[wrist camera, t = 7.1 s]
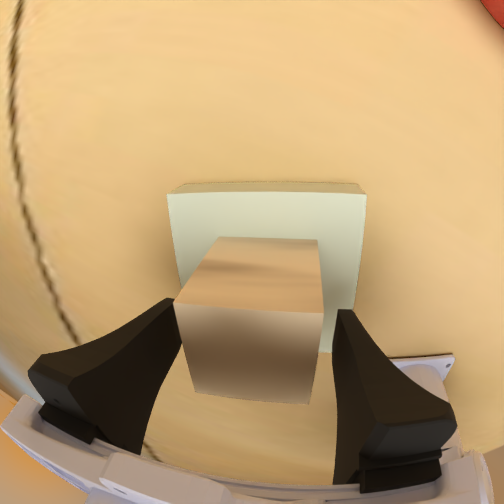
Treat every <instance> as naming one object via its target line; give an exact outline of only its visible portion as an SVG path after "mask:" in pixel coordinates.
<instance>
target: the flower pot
mask: <svg viewBox="0 0 504 504" xmlns="http://www.w3.org/2000/svg"><path fill="white" fill-rule="evenodd" d="M481 2H482V3H483V5H484V6H485V7H486V9H487V10H488V11H489V13H490V14H491V15H492V16H493V18H494V19H495V20H496V21H497V22H498V23H499V24H500V25H501V26H502V27H503V28H504V0H481Z"/></svg>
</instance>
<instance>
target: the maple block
mask: <svg viewBox="0 0 504 504" xmlns="http://www.w3.org/2000/svg"><path fill="white" fill-rule="evenodd" d="M173 305H174V310H175V314H176V319H177V323H178V327H179V332H180V336H181V340H182V344H183V348H184V352H185V356H186V360H187V363H188V367H189V371H190V375H191V378H192V382H193V385H194V389H195V392H197V393H203V394H209V395H215V396H222V397H229V398H236V399H245V400H254V401H264V402H276V403H290V404H309V402H310V397H311V392H312V386H313V381H314V375H315V370H316V364H317V358H318V351H319V345H320V338H321V332H322V324H323V317H324V306H323V294H322V282H321V271H320V261H319V252H318V243H317V240H311V239H284V238H253V237H218V238H217V240H216V241H215V242H214V244H213V245H212V247H211V248H210V250H209V251H208V252H207V254H206V255H205V257H204V258H203V259H202V261H201V262H200V264H199V265H198V267H197V268H196V270H195V271H194V272H193V274H192V275H191V277H190V278H189V280H188V281H187V283H186V284H185V286H184V287H183V288H182V290H181V291H180V293H179V294H178V296H177V297H176V299H175V300H174V302H173Z"/></svg>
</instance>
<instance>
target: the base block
mask: <svg viewBox="0 0 504 504" xmlns="http://www.w3.org/2000/svg"><path fill="white" fill-rule="evenodd" d="M366 201H367V194H366V193H365V192H364V191H363V190H362V189H361V188H360V186H359V185H358V184H344V183H317V182H226V183H199V184H184V185H182V186H180V187H178V188H177V189H175V190H173V191H171V192H170V193H168V194H167V202H168V210H169V217H170V224H171V231H172V237H173V244H174V250H175V256H176V262H177V268H178V273H179V279H180V284H181V290H182V288H183V287H184V286H185V284H186V283H187V281H188V280H189V278H190V277H191V275H192V274H193V272H194V271H195V270H196V268H197V267H198V265H199V264H200V262H201V261H202V259H203V258H204V257H205V255H206V254H207V252H208V251H209V250H210V248H211V247H212V245H213V244H214V242H215V241H216V240H217V238H218V237H253V238H284V239H311V240H317V243H318V252H319V261H320V271H321V282H322V294H323V306H324V317H323V324H322V332H321V338H320V345H319V351H318V352H329V353H332V341H333V335H334V330H335V324H336V318H337V311H338V309H352V310H353V306H354V301H355V295H356V288H357V282H358V275H359V268H360V260H361V252H362V244H363V235H364V225H365V213H366Z"/></svg>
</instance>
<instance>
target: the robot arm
mask: <svg viewBox="0 0 504 504" xmlns="http://www.w3.org/2000/svg"><path fill="white" fill-rule="evenodd" d="M174 300H175V299H172V298H166V299H164V300H162V301H160V302H159V303H157V304H156V305H154V306H153V307H151V308H150V309H148V310H147V311H145V312H144V313H142V314H141V315H139V316H138V317H136V318H135V319H133V320H132V321H130V322H128V323H127V324H125V325H123V326H122V327H120V328H118V329H117V330H115V331H113V332H111V333H109V334H107V335H105V336H103V337H101V338H99V339H96V340H94V341H91V342H89V343H86V344H84V345H81V346H78V347H74V348H71V349H67V350H64V351H59V352H54V353H48V354H42V355H41V356H40V357H39V358H38V359H37V360H36V362H35V363H34V364H33V365H32V366H31V368H30V369H29V370H28V377H29V379H30V381H31V382H32V384H33V386H34V387H35V388H36V390H37V391H38V393H39V394H40V395H41V397H42V398H43V399H44V401H45V403H44V405H43V406H42V405H41V404H40V403H39V402H37V401H36V400H34V399H32V398H31V397H29V396H28V395H26V394H24V395H23V396H22V397H21V399H20V400H19V401H18V403H17V404H16V405H15V406H14V408H13V409H12V411H11V412H10V413H9V415H8V416H7V417H6V419H5V420H4V421H3V423H2V424H1V426H0V427H1V429H2V430H3V431H4V432H5V433H6V434H7V435H8V436H9V437H10V438H11V439H12V440H13V441H14V442H15V443H16V444H17V445H18V446H20V447H21V448H22V449H23V450H24V451H25V452H26V453H27V454H28V455H30V456H31V457H32V458H34V459H35V460H36V461H38V462H39V463H41V464H42V465H43V466H45V467H46V468H48V469H49V470H50V471H52V472H53V473H55V474H56V475H58V476H59V477H61V478H62V479H64V480H66V481H67V482H69V483H70V484H72V485H74V486H75V487H77V488H79V489H80V490H82V491H84V492H86V493H87V494H89V495H88V497H87V499H86V501H85V504H494V495H493V488H492V483H491V478H490V475H489V471H488V468H487V464H486V462H485V459H484V457H483V455H482V453H481V452H478V451H475V450H473V449H471V450H469V451H467V452H465V451H464V450H463V447H462V443H461V439H460V435H459V432H458V428H457V422H456V419H455V415H454V412H453V409H452V407H451V405H450V402H449V399H448V396H447V393H446V390H445V387H444V385H443V381H444V379H445V377H446V376H447V374H448V372H449V370H450V368H451V367H452V365H453V363H454V361H455V357H454V355H442V356H432V357H420V358H405V359H388V358H387V356H386V355H385V354H384V353H383V352H382V351H381V349H380V348H379V347H378V346H377V345H376V343H375V342H374V341H373V339H372V338H371V337H370V335H369V334H368V333H367V331H366V330H365V328H364V327H363V325H362V324H361V322H360V321H359V319H358V318H357V316H356V315H355V313H354V312H353V310H352V309H338V311H337V318H336V324H335V330H334V335H333V341H332V366H333V374H334V382H335V391H336V399H337V443H336V457H335V468H334V477H333V485H288V484H273V483H262V482H253V481H246V480H238V479H232V478H226V477H220V476H215V475H210V474H205V473H200V472H196V471H191V470H187V469H183V468H179V467H176V466H172V465H168V464H165V463H162V462H158V461H155V460H152V459H149V458H146V457H143V456H140V454H141V449H142V444H143V440H144V436H145V432H146V428H147V424H148V421H149V418H150V415H151V411H152V408H153V405H154V402H155V400H156V397H157V394H158V392H159V389H160V387H161V385H162V383H163V381H164V379H165V377H166V375H167V373H168V371H169V369H170V367H171V366H172V364H173V362H174V360H175V358H176V356H177V354H178V352H179V350H180V347H181V344H182V340H181V336H180V332H179V327H178V323H177V319H176V314H175V310H174V305H173V302H174Z"/></svg>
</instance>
